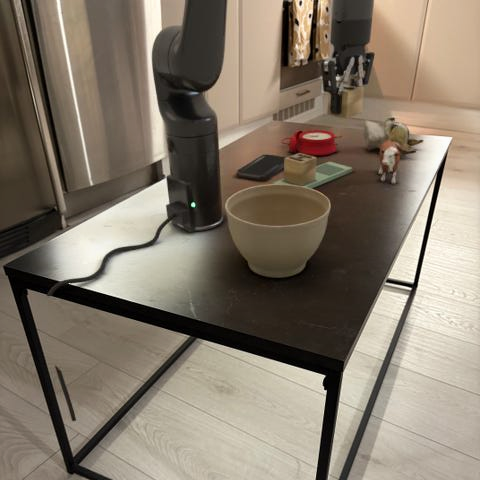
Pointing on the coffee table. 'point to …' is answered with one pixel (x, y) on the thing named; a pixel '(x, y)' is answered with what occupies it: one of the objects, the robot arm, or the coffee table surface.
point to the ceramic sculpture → (389, 135)
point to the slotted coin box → (349, 101)
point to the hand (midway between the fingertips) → (344, 110)
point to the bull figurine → (389, 159)
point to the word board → (323, 174)
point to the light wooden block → (299, 169)
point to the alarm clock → (312, 142)
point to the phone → (262, 167)
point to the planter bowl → (277, 226)
